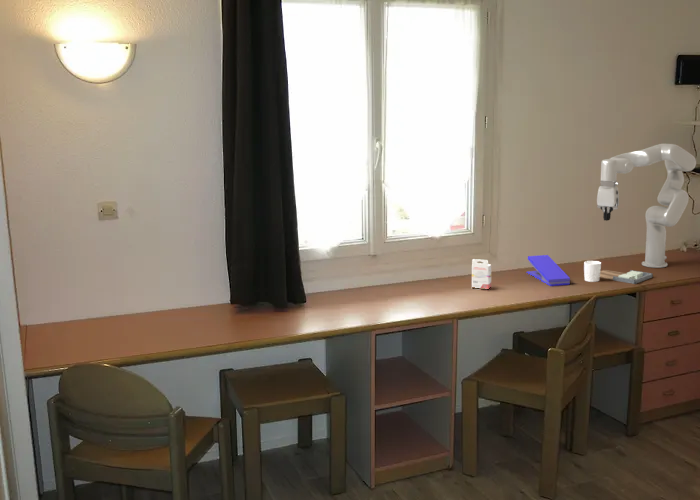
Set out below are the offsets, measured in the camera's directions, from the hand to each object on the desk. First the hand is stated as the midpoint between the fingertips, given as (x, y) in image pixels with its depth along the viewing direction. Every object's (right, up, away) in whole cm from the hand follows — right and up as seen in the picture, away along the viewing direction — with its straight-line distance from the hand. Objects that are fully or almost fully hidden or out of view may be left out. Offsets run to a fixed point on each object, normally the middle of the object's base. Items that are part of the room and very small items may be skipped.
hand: (606, 220), depth 367 cm
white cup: (-12, -31, -14) cm, 36 cm away
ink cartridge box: (-67, -34, -18) cm, 77 cm away
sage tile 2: (+10, -29, -11) cm, 33 cm away
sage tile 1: (+4, -31, -16) cm, 35 cm away
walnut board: (-1, -29, -5) cm, 29 cm away
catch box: (+8, -30, -14) cm, 34 cm away
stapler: (-31, -30, -5) cm, 44 cm away
